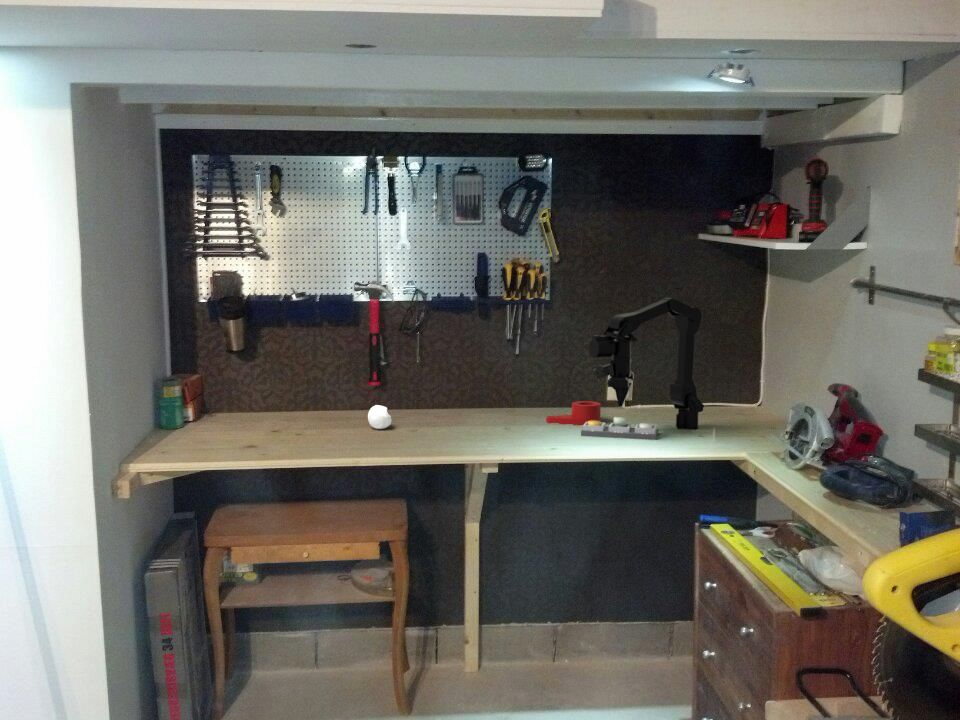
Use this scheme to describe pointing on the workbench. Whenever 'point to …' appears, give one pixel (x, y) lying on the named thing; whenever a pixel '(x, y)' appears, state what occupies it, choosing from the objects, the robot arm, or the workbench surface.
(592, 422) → the button amber
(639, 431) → the control board
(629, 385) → the robot arm
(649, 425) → the button white
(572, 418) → the lever
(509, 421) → the workbench surface
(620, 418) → the button sage
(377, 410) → the white rounded piece
